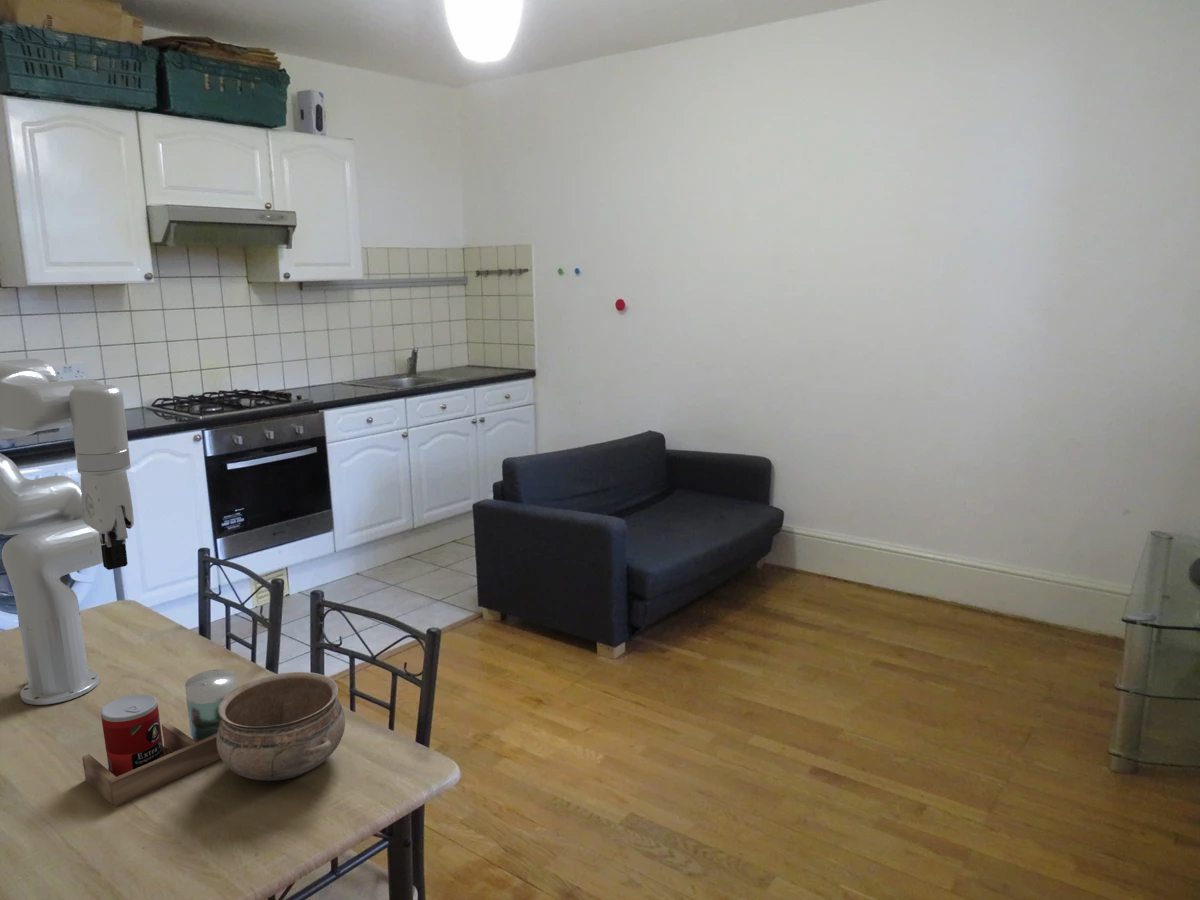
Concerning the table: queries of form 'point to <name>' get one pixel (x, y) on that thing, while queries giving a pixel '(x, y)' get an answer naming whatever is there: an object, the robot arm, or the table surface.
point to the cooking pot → (280, 725)
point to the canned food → (131, 732)
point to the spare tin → (207, 700)
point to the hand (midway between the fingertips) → (115, 566)
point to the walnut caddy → (153, 767)
